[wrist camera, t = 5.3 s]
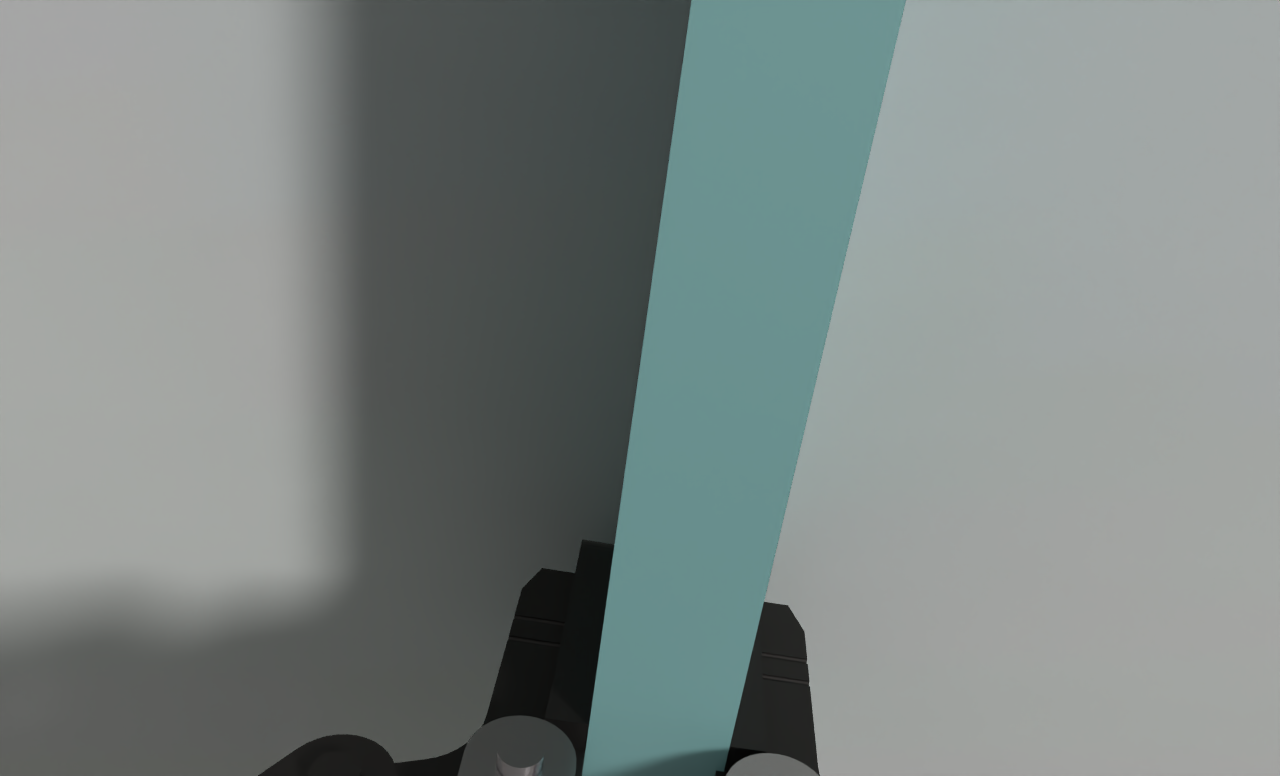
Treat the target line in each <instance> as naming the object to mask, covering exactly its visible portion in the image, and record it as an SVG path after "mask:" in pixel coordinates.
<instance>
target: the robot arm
mask: <svg viewBox="0 0 1280 776" xmlns="http://www.w3.org/2000/svg"><path fill="white" fill-rule="evenodd" d="M613 552H614V544H607V543H601V542H594V541H588V540H582V544H581V548H580V553H579V558H578V563H577V567H576V572H575V573H570V572H564V571H557V570H550V569H544V568H542V569H541V570H540V571H539V572H538V573H537V574H536V575H535V576H534V577H533V578H532V579H531V580H530V581H529V582H528V583H527V584H526V585H525V586H524V587H523V588H522V591H521V594H520V598H519V601H518V605H517V609H516V612H515V617H514V619H513V623H512V627H511V630H510V634H509V639H508V641H507V644H506V648H505V652H504V655H503V659H502V662H501V666H500V670H499V673H498V677H497V680H496V684H495V687H494V691H493V695H492V698H491V702H490V705H489V709H488V713H487V716H486V719H485V721H484V724H483V725H482V727H481V728H480V729H478V730H477V731H476V732H475V733H474V734H473V735H472V737H471V738H470V740H469V741H468V742H467V743H466V744H465V745H463V746H462V747H460V748H458V749H457V750H455V751H453V752H450V753H448V754H446V755H442V756H439V757H436V758H430V759H425V760H417V761H409V762H401V763H394V762H393V759H392V758H391V756H390V755H389V753H388V752H387V751H386V750H385V749H384V748H383V747H382V746H380V745H379V744H377V743H376V742H374V741H372V740H370V739H367V738H364V737H360V736H356V735H332V736H326V737H322V738H319V739H316V740H313V741H311V742H309V743H306V744H305V745H303V746H301V747H300V748H298V749H296V750H295V751H293V752H292V753H290V754H289V755H288V756H286V757H285V758H283V759H282V760H280V761H279V762H277V763H276V764H274V765H273V766H271V767H270V768H268V769H267V770H265V771H264V772H263V773H261V774H260V775H258V776H582V772H583V765H584V758H585V750H586V743H587V736H588V729H589V722H590V715H591V708H592V701H593V694H594V687H595V680H596V673H597V666H598V658H599V651H600V644H601V637H602V630H603V623H604V616H605V609H606V602H607V595H608V588H609V581H610V574H611V566H612V559H613ZM806 662H807V653H806V644H805V634H804V630H803V629H802V627H801V626H800V624H799V622H798V621H797V619H796V618H795V616H794V614H793V613H792V611H791V610H790V608H789V607H788V605H781V604H774V603H768V602H764V603H763V608H762V612H761V616H760V620H759V625H758V629H757V633H756V637H755V641H754V646H753V650H752V654H751V658H750V663H749V667H748V671H747V675H746V680H745V684H744V688H743V692H742V697H741V701H740V705H739V709H738V713H737V718H736V722H735V726H734V730H733V735H732V739H731V743H730V747H729V752H728V756H727V760H726V764H725V769H724V772H723V771H716V773H715V776H820V775H819V769H818V763H817V753H816V743H815V733H814V723H813V713H812V703H811V693H810V686H809V673H808V664H806Z"/></svg>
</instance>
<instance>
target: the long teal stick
mask: <svg viewBox="0 0 1280 776" xmlns="http://www.w3.org/2000/svg"><path fill="white" fill-rule="evenodd" d="M905 2H906V0H691V7H690V15H689V22H688V29H687V36H686V43H685V50H684V57H683V64H682V71H681V78H680V85H679V92H678V99H677V107H676V114H675V121H674V128H673V135H672V142H671V149H670V156H669V163H668V170H667V177H666V184H665V191H664V199H663V206H662V213H661V220H660V227H659V234H658V241H657V248H656V255H655V262H654V269H653V276H652V283H651V291H650V298H649V305H648V312H647V319H646V326H645V333H644V340H643V347H642V354H641V361H640V368H639V375H638V382H637V390H636V397H635V404H634V411H633V418H632V425H631V432H630V439H629V446H628V453H627V460H626V467H625V474H624V482H623V489H622V496H621V503H620V510H619V517H618V524H617V531H616V538H615V545H614V552H613V559H612V566H611V574H610V581H609V588H608V595H607V602H606V609H605V616H604V623H603V630H602V637H601V644H600V651H599V658H598V666H597V673H596V680H595V687H594V694H593V701H592V708H591V715H590V722H589V729H588V736H587V743H586V750H585V758H584V765H583V772H582V776H715V773H716V771H723V772H724V769H725V764H726V760H727V756H728V752H729V747H730V743H731V739H732V735H733V730H734V726H735V722H736V718H737V713H738V709H739V705H740V701H741V697H742V692H743V688H744V684H745V680H746V675H747V671H748V667H749V663H750V658H751V654H752V650H753V646H754V641H755V637H756V633H757V629H758V625H759V620H760V616H761V612H762V608H763V603H764V599H765V595H766V591H767V586H768V582H769V578H770V574H771V569H772V565H773V561H774V557H775V553H776V548H777V544H778V540H779V536H780V531H781V527H782V523H783V519H784V514H785V510H786V506H787V502H788V497H789V493H790V489H791V485H792V481H793V476H794V472H795V468H796V464H797V459H798V455H799V451H800V447H801V442H802V438H803V434H804V430H805V425H806V421H807V417H808V413H809V409H810V404H811V400H812V396H813V392H814V387H815V383H816V379H817V375H818V370H819V366H820V362H821V358H822V353H823V349H824V345H825V341H826V337H827V332H828V328H829V324H830V320H831V315H832V311H833V307H834V303H835V298H836V294H837V290H838V286H839V281H840V277H841V273H842V269H843V265H844V260H845V256H846V252H847V248H848V243H849V239H850V235H851V231H852V226H853V222H854V218H855V214H856V209H857V205H858V201H859V197H860V193H861V188H862V184H863V180H864V176H865V171H866V167H867V163H868V159H869V154H870V150H871V146H872V142H873V137H874V133H875V129H876V125H877V121H878V116H879V112H880V108H881V104H882V99H883V95H884V91H885V87H886V82H887V78H888V74H889V70H890V65H891V61H892V57H893V53H894V49H895V44H896V40H897V36H898V32H899V27H900V23H901V19H902V15H903V10H904V6H905Z"/></svg>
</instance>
